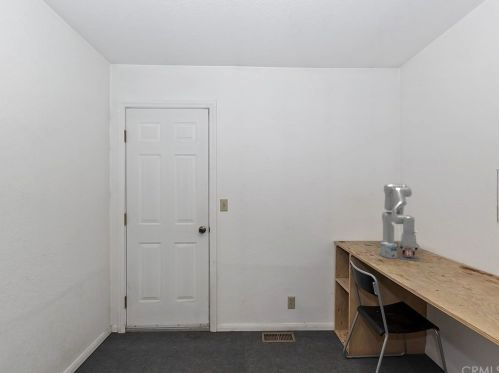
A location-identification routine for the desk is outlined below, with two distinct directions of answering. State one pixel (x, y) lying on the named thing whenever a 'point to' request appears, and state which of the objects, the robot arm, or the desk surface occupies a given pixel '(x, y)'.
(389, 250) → the light bulb box
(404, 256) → the blue-gray flat panel
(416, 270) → the desk surface
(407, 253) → the reddish brown cube
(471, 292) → the desk surface
